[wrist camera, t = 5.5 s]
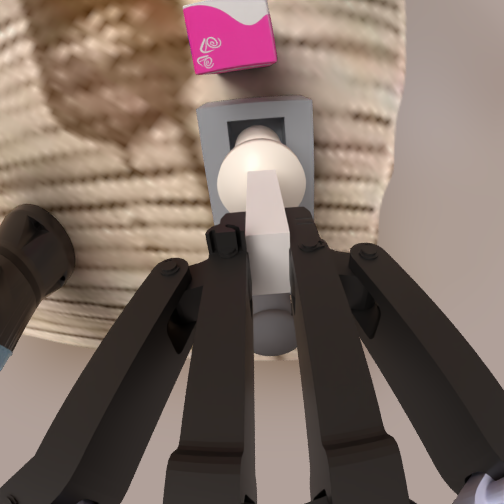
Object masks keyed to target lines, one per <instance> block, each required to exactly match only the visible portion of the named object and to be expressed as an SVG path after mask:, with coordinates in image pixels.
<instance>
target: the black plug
mask: <svg viewBox="0 0 504 504" xmlns="http://www.w3.org/2000/svg"><path fill="white" fill-rule="evenodd" d="M252 299H253V332H254V353H256V354H259V355H263V356H278V355H282V354H286V353H288V352H290V351H292V350H294V349H295V348H296V347H297V341H296V334H295V326H294V319H293V316H291V300H290V293H278V294H264V295H252Z"/></svg>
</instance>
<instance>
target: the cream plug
mask: <svg viewBox="0 0 504 504" xmlns="http://www.w3.org/2000/svg"><path fill="white" fill-rule="evenodd" d="M274 169H275V170H276V174H277V178H278V183H279V187H280V191H281V196H282V200H283V204H284V208H287V207H298V206H299V204H300V203H301V201H302V199H303V197H304V194H305V189H306V177H305V173H304V170H303V167H302V165H301V164H300V162H299V160H298V158H297V156H296V155H295V154H294V152H293V151H292V150H291V149H290V148H288V147H287V146H286V145H284V144H282V143H281V141H280V139H279V137H278V135H277V134H276V133H275V132H274V131H273V130H272V129H270V128H268V127H266V126H261V125H255V126H250V127H248V128H246V129H244V130H243V131H242V132H241V133H240V134H239V136H238V137H237V140H236V143H235V147H234V148H233V149H232V150H231V151H230V152H229V153H228V154H227V155H226V157H225V158H224V160H223V162H222V165H221V167H220V171H219V174H218V179H217V189H218V194H219V197H220V200H221V201H222V203H223V205H224V206H225V208H226V209H227V210H228V211H229V212H230V213H233V212H245V211H246V195H247V172H248V171H260V170H274Z"/></svg>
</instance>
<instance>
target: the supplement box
mask: <svg viewBox="0 0 504 504" xmlns="http://www.w3.org/2000/svg"><path fill="white" fill-rule="evenodd" d="M183 12H184V17H185V23H186V28H187V33H188V39H189V44H190V48H191V54H192V59H193V63H194V69H195V73H196V75H203V74H220V73H226V72H232V71H238V70H245V69H252V68H260V67H267V66H270V65H272V64H274V63H276V62H277V53H276V46H275V40H274V34H273V28H272V23H271V18H270V13H269V8H268V3H267V0H206V1H202V2H197V3H193V4H189V5H185V6H183Z"/></svg>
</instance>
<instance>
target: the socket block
mask: <svg viewBox="0 0 504 504" xmlns="http://www.w3.org/2000/svg"><path fill="white" fill-rule="evenodd" d="M196 112H197V119H198V126H199V132H200V139H201V146H202V152H203V159H204V165H205V171H206V178H207V184H208V190H209V196H210V202H211V208H212V213H213V219H214V225H218V224H220V220H221V218H222V217H223V216H224V215H225V214H226V213H230V212H229V211H228V210H227V209H226V208H225V206H224V205H223V203H222V201H221V200H220V197H219V194H218V189H217V179H218V174H219V171H220V167H221V165H222V162H223V160H224V158H225V157H226V155H227V154H228V153H229V152H230V151H231V150H232V149H233V148H234V147H235V143H236V140H237V137H238V136H239V134H240V133H241V132H242V131H243V130H244V129H246V128H248V127H250V126H255V125H261V126H266V127H268V128H270V129H272V130H273V131H274V132H275V133H276V134H277V135H278V137H279V139H280V141H281V143H282V144H284V145H286V146H287V147H288V148H290V149H291V150H292V151H293V152H294V154H295V155H296V156H297V158H298V160H299V162H300V164H301V165H302V167H303V170H304V173H305V177H306V189H305V194H304V197H303V199H302V201H301V203H300V204H299V206H298V207H303V206H304V207H305V208H306V209H308V210H309V211H310V212H311V215H312V218H313V220H314V137H313V108H312V100H311V99H309V98H307V97H304V96H302V95H286V96H267V97H253V98H242V99H232V100H223V101H215V102H208V103H205V104H203V105H202V106H200V107H199V108H197V109H196ZM290 295H291V292H290Z"/></svg>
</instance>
